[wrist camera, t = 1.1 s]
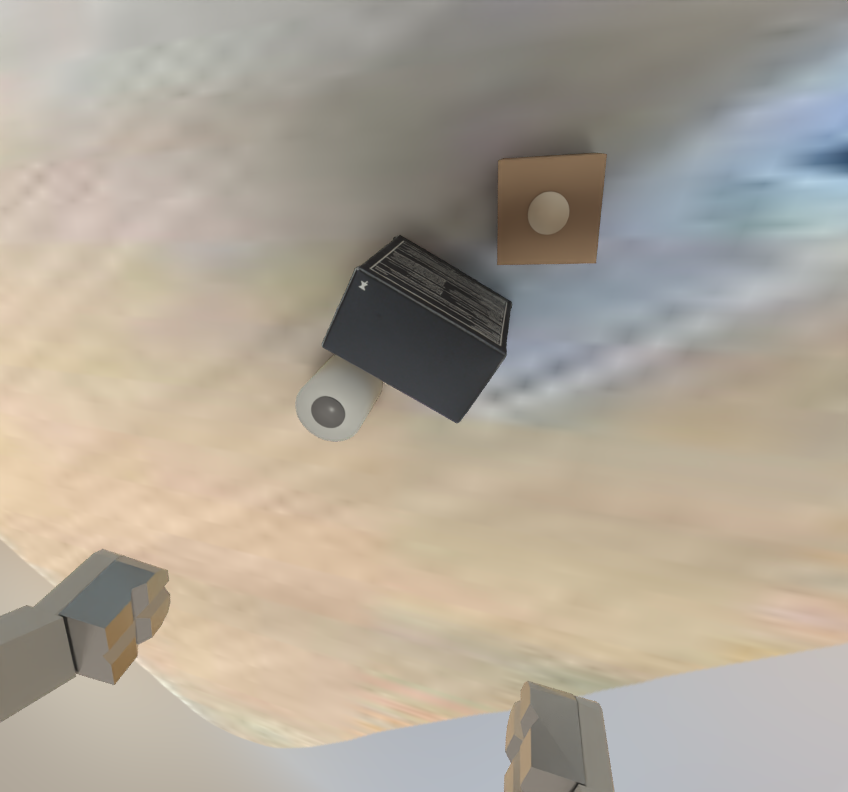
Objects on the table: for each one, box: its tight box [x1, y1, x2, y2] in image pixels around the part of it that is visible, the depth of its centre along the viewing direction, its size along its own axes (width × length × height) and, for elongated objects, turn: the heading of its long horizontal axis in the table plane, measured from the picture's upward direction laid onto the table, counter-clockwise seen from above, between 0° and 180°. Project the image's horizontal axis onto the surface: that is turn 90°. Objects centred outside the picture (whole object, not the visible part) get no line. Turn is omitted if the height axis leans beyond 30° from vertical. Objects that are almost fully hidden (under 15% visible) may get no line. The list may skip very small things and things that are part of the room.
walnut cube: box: [497, 153, 607, 265], centre depth 31 cm, size 6×6×6 cm
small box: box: [322, 235, 512, 423], centre depth 34 cm, size 11×6×10 cm, turn 62°
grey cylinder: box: [296, 355, 383, 442], centre depth 41 cm, size 6×6×6 cm
